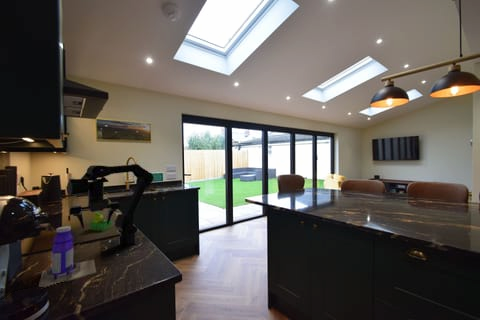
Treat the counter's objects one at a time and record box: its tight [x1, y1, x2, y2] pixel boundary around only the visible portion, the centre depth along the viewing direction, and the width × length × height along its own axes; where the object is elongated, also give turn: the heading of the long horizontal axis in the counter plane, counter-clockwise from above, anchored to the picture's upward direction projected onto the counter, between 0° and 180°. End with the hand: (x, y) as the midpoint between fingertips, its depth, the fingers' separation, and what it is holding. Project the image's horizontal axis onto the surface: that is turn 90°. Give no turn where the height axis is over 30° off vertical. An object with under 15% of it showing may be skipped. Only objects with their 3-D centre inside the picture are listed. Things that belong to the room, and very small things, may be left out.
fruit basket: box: [88, 212, 113, 232], centre depth 132 cm, size 11×9×11 cm
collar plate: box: [38, 259, 97, 288], centre depth 80 cm, size 16×13×3 cm
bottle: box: [51, 225, 75, 278], centre depth 78 cm, size 7×6×17 cm
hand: (95, 226), depth 95 cm, fingers open, 9 cm apart
